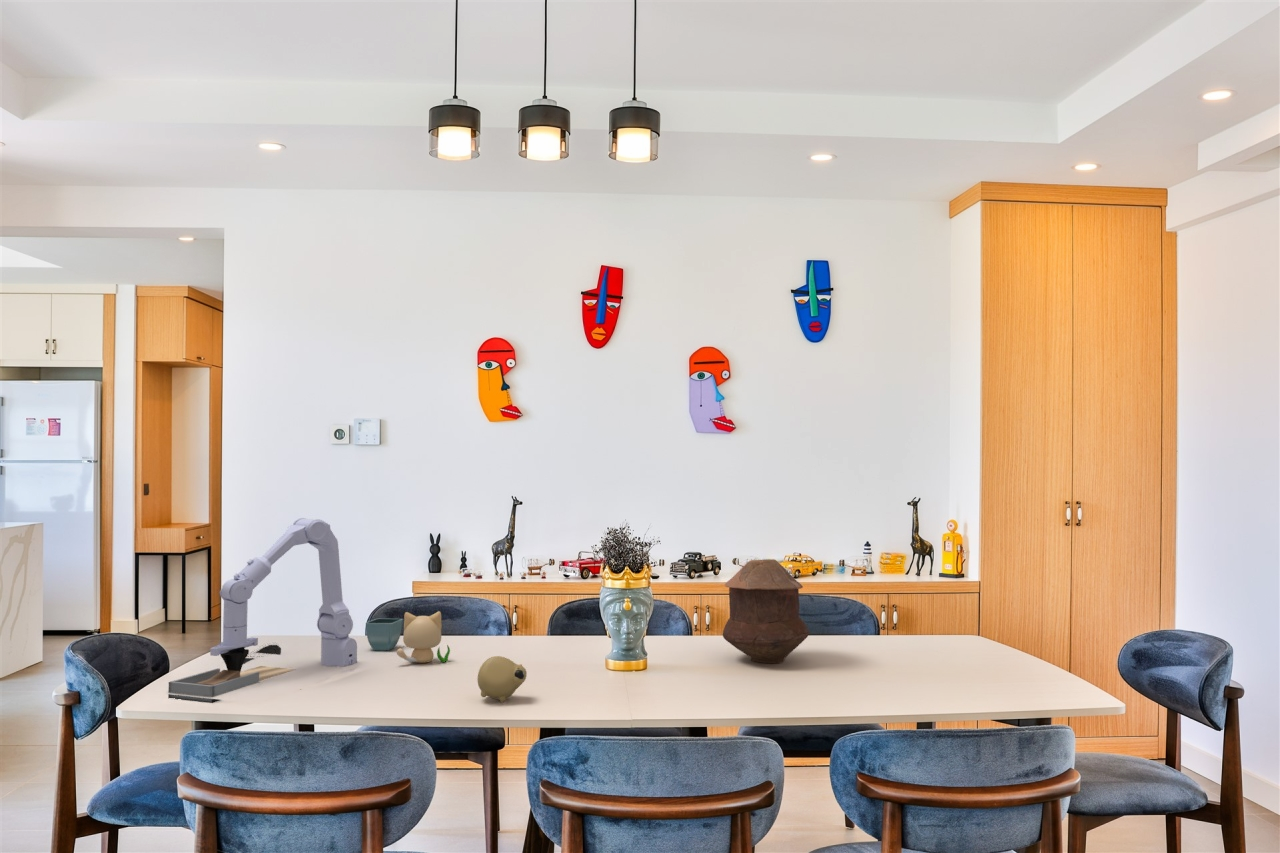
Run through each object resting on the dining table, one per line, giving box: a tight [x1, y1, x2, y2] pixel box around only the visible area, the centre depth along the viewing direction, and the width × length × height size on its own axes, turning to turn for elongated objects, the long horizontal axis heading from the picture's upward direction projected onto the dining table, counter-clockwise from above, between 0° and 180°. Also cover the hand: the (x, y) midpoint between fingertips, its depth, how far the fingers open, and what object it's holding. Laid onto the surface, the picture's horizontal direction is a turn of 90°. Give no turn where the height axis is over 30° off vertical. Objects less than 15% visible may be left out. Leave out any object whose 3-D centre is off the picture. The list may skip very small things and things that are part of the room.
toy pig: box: [476, 655, 527, 703], centre depth 219 cm, size 10×12×11 cm
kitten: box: [396, 610, 451, 664], centre depth 260 cm, size 15×10×15 cm, turn 100°
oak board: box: [240, 665, 296, 682], centre depth 239 cm, size 12×15×2 cm
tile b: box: [196, 679, 227, 685], centre depth 222 cm, size 5×5×3 cm
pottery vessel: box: [722, 558, 810, 664], centre depth 264 cm, size 26×26×30 cm
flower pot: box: [365, 617, 404, 651], centre depth 279 cm, size 9×9×9 cm
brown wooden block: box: [210, 669, 240, 681], centre depth 228 cm, size 5×5×3 cm
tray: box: [167, 667, 260, 704], centre depth 225 cm, size 14×16×4 cm
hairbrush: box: [243, 642, 282, 665], centre depth 259 cm, size 8×4×25 cm
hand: (234, 678), depth 231 cm, fingers closed
